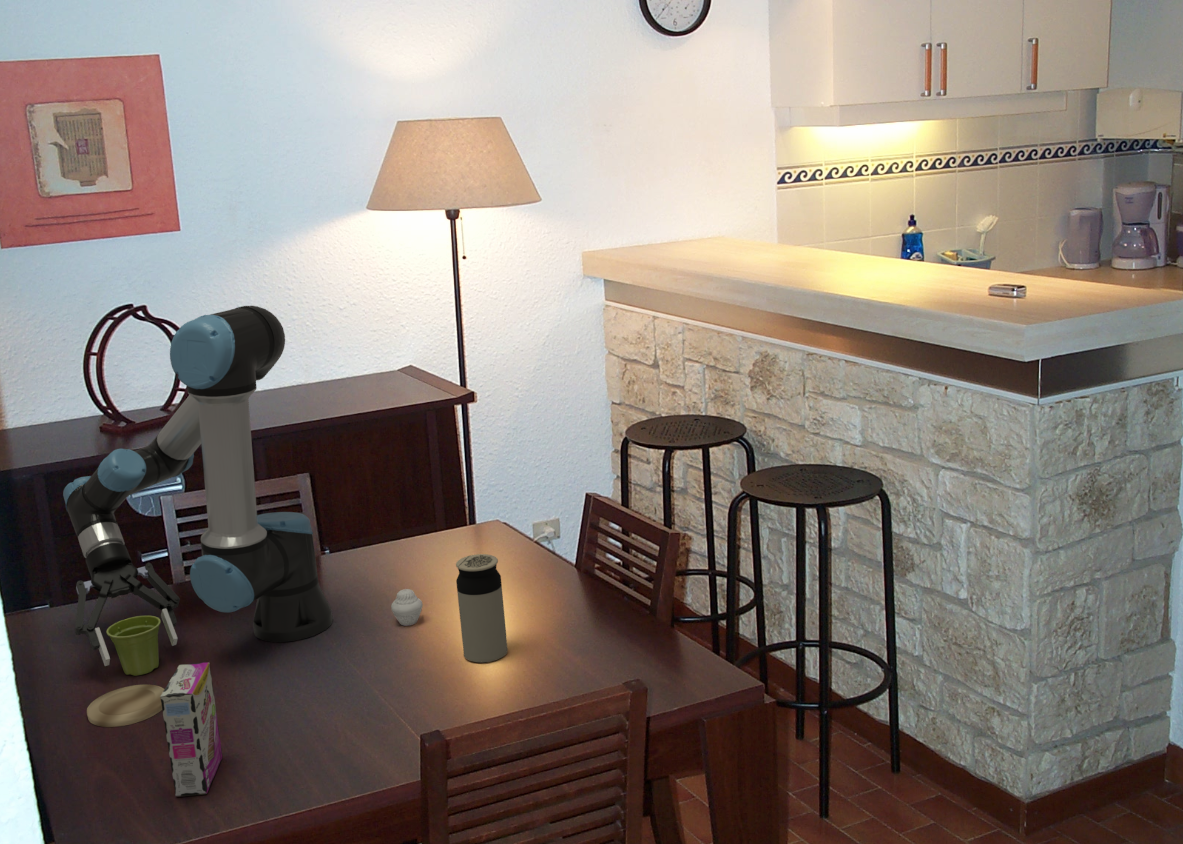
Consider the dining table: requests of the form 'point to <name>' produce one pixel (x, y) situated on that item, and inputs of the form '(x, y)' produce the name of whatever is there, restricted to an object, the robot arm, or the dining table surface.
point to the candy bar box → (191, 729)
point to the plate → (125, 706)
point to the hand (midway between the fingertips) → (141, 652)
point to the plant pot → (136, 643)
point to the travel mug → (481, 608)
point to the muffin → (407, 607)
